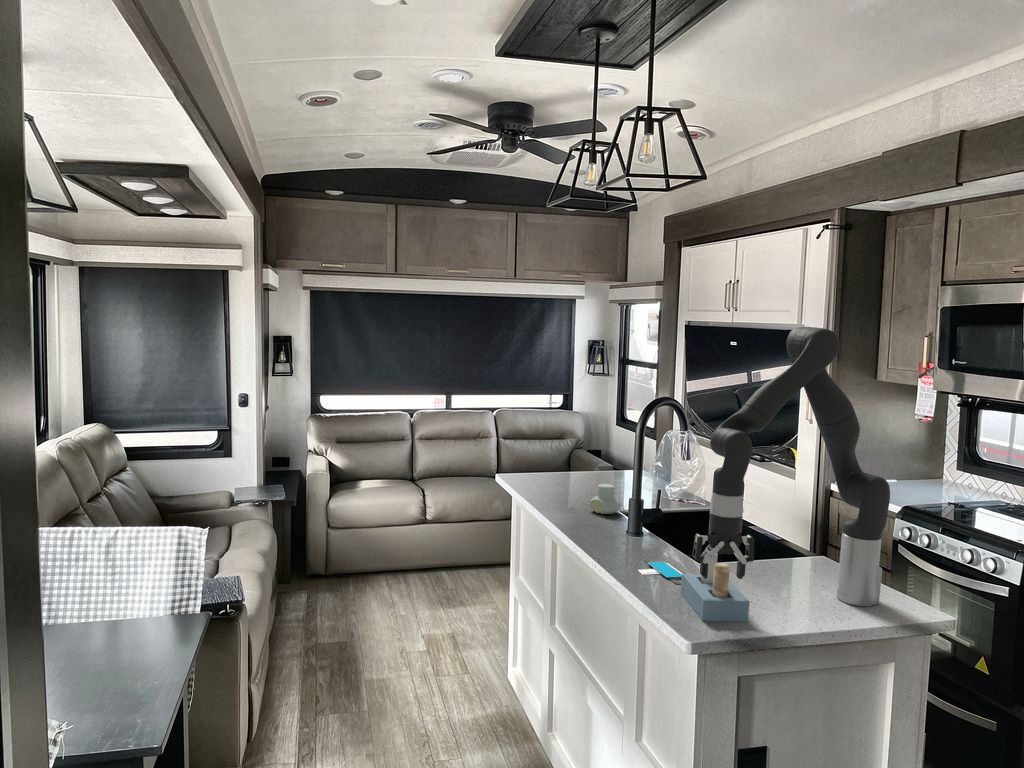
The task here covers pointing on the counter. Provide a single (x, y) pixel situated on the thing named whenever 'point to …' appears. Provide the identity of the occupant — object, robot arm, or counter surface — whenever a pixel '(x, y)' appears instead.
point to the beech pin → (720, 580)
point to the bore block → (714, 598)
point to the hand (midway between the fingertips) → (721, 577)
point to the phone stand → (663, 570)
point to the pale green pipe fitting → (605, 500)
